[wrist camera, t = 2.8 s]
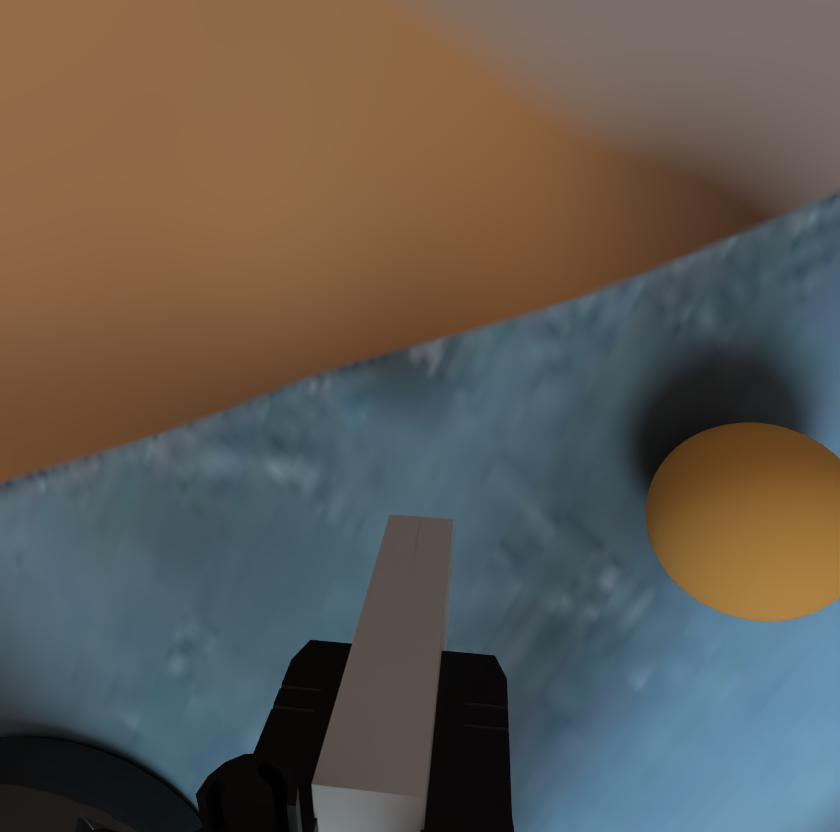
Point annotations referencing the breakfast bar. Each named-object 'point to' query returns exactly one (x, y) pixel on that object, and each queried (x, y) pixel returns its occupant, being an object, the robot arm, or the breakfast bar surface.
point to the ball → (749, 521)
